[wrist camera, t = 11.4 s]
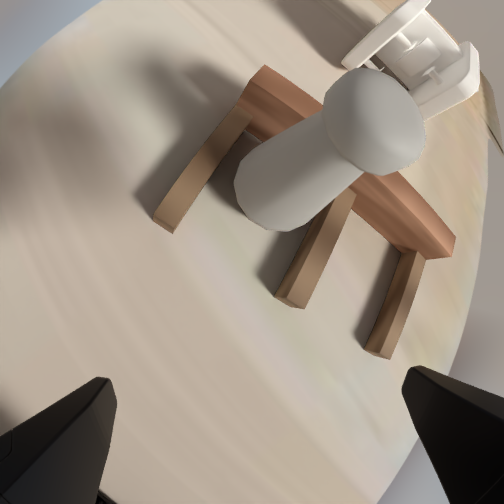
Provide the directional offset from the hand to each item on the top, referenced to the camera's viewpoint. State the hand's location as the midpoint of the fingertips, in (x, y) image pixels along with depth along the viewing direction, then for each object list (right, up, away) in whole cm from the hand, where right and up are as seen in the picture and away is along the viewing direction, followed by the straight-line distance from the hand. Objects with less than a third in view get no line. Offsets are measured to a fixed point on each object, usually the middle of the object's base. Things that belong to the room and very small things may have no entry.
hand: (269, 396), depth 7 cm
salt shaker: (0, +8, +13) cm, 16 cm away
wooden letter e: (+4, +5, +14) cm, 16 cm away
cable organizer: (+16, +25, +21) cm, 36 cm away
